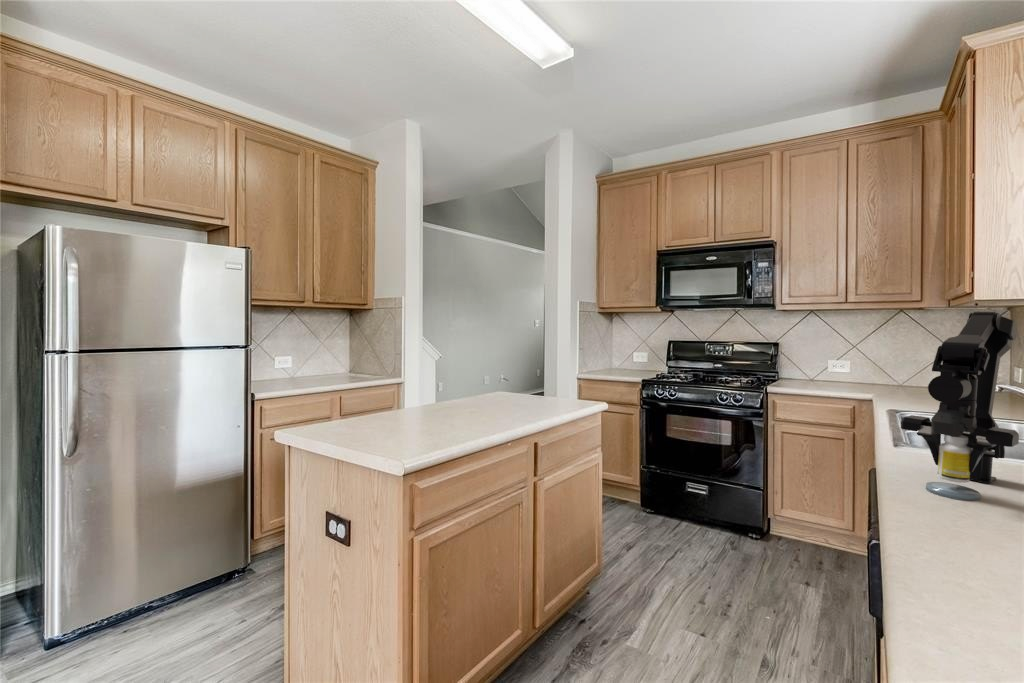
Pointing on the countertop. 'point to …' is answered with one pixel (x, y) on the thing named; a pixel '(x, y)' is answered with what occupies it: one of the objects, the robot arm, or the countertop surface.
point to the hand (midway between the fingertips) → (953, 468)
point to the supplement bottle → (954, 459)
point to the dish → (953, 491)
